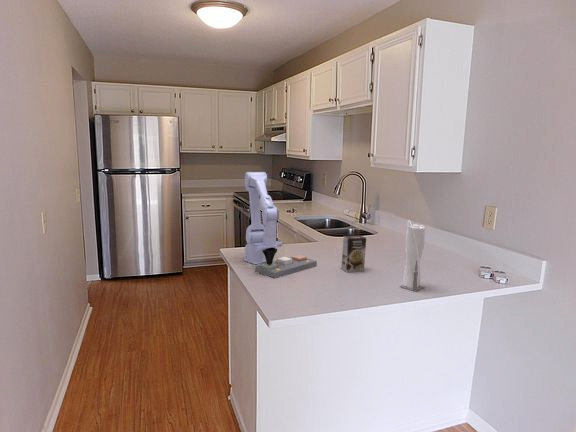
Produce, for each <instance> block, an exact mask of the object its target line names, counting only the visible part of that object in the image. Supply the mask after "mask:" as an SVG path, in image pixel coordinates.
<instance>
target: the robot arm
mask: <svg viewBox="0 0 576 432" xmlns="http://www.w3.org/2000/svg"><path fill="white" fill-rule="evenodd" d="M267 182H268V174H267V173H266V172H265V171H254V172H252V171H246V172H245V174H244V187H245V190H246V191H247V192H248V196H249V207H250V208H249V210H250V211H249V212H250V221H251V223H250V225H248V227H246V231H245V241H246V244H245V247H244V259H243V261H245V262H247V263H249V264H253V265H261V264H265V263H267V264H269V265H271V264H272V262H274V258H275V255H276V253H277V252H278V248H279V247H283V241H277V226H278V225H277V221H279V218H280V211H279V208H278V207H276V206H275V204H274V202H273V199H272V197H271V195H269V194H268V190H267V186H266V185H267ZM261 211H262V212H261Z"/></svg>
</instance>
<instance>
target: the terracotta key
mask: <svg viewBox="0 0 576 432" xmlns="http://www.w3.org/2000/svg"><path fill="white" fill-rule="evenodd" d="M291 257H292V260H296V261H299V262H300V261H304V260H306V258H307V256H304V255H301V254H297V255H293V256H291Z"/></svg>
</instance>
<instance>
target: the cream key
mask: <svg viewBox="0 0 576 432" xmlns="http://www.w3.org/2000/svg"><path fill="white" fill-rule="evenodd" d="M276 261H277V263H278V264H281V265H284V266H285V265H289V264H292V259H291V258H289V257H287V256H282V257H278V258H277V259H276Z"/></svg>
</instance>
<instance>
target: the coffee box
mask: <svg viewBox="0 0 576 432" xmlns="http://www.w3.org/2000/svg"><path fill="white" fill-rule="evenodd" d="M342 239H343V241H342V256H341V269H342V270H343V271H344V272H345V273H357V272H358V273H359V272H365V264H366V263H365V262H366V249H367V248H366V247H367V238H366V237H365V236H363V235H343V238H342Z"/></svg>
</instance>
